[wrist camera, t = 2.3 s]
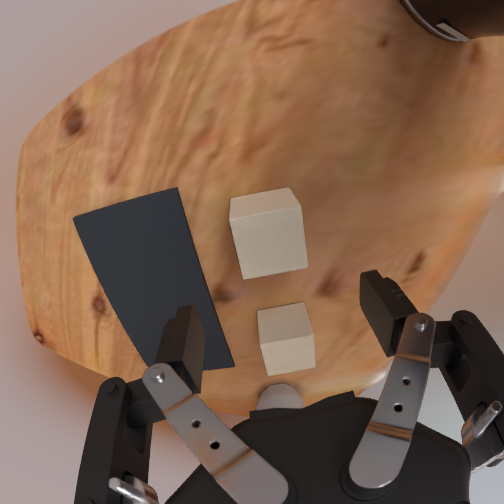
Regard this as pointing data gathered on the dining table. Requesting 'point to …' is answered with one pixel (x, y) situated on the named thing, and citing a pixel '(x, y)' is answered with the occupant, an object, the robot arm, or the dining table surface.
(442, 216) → the dining table surface
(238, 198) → the beige rounded cube
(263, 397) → the salt shaker
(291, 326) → the beige cube block
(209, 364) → the word mat
